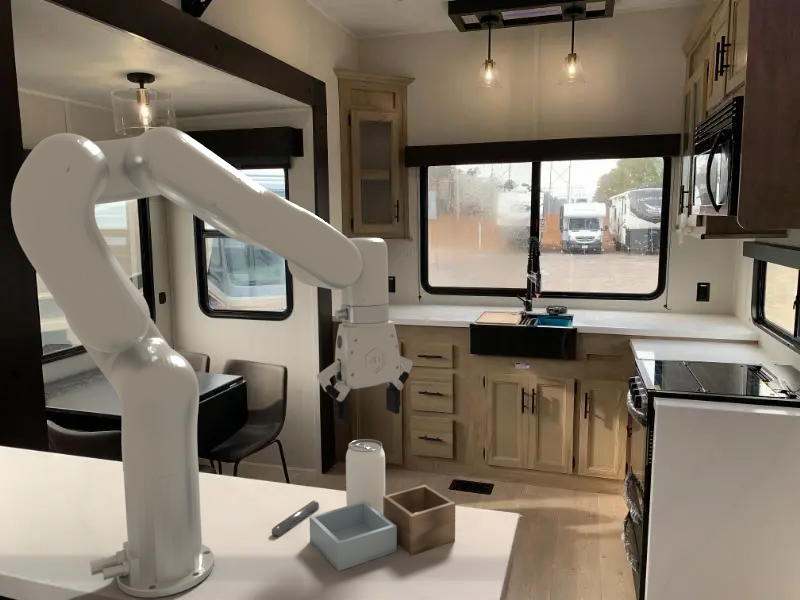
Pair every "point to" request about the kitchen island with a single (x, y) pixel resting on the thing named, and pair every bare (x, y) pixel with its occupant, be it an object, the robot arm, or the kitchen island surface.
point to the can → (365, 473)
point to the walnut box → (420, 518)
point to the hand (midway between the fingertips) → (368, 417)
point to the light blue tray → (352, 535)
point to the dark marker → (294, 518)
